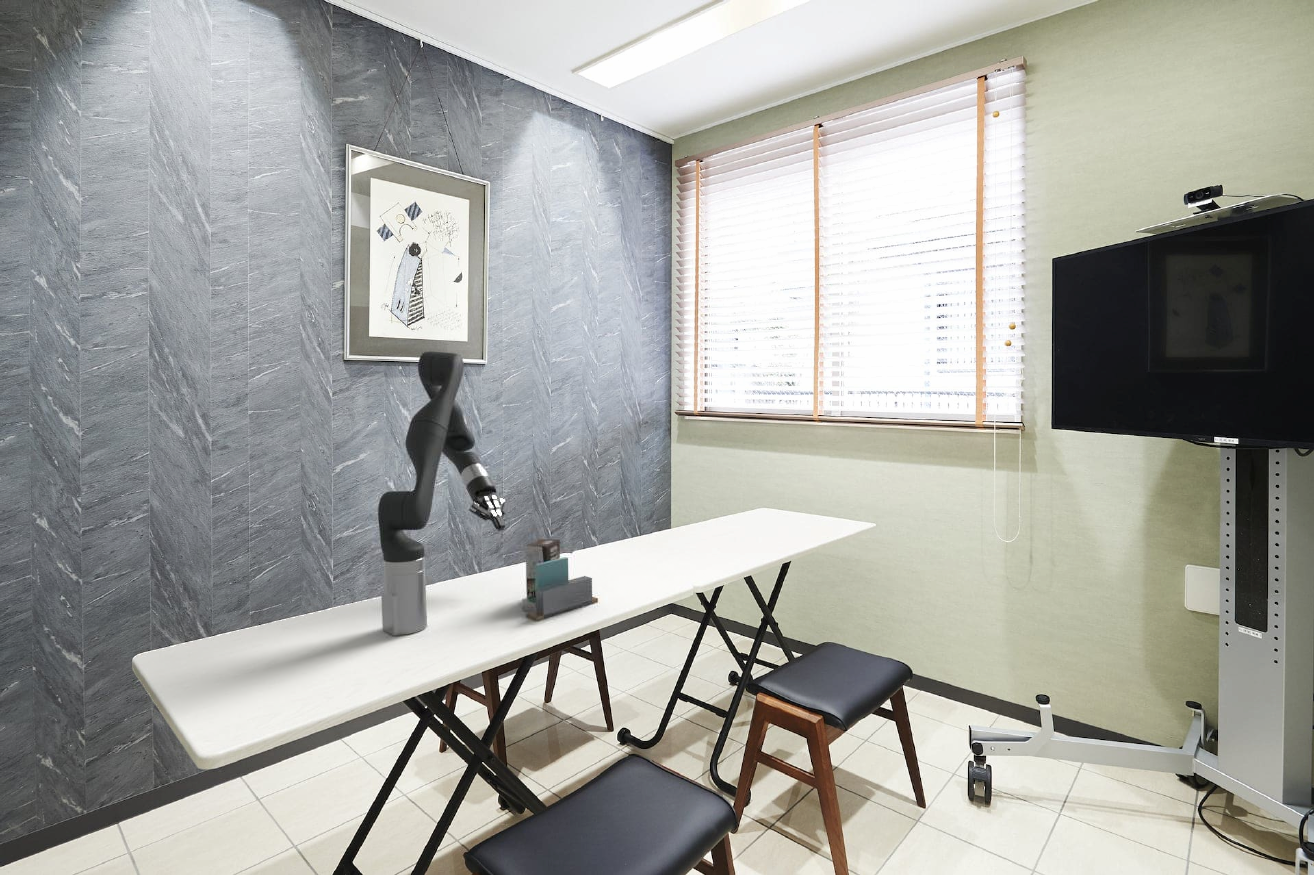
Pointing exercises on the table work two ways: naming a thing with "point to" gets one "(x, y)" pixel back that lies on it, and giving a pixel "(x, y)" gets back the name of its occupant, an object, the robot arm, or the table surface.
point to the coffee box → (539, 559)
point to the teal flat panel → (550, 573)
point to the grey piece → (559, 598)
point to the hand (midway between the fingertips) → (502, 528)
